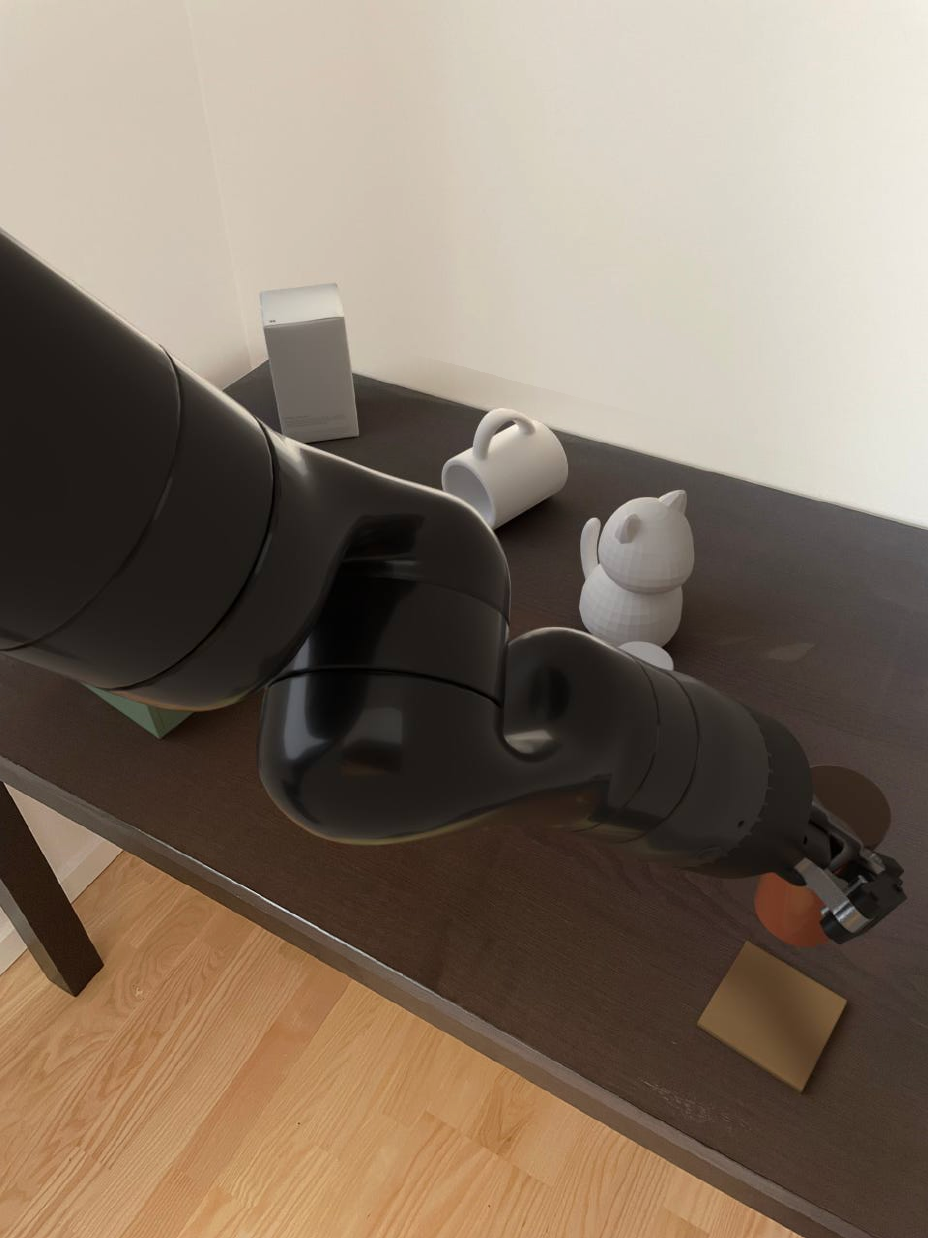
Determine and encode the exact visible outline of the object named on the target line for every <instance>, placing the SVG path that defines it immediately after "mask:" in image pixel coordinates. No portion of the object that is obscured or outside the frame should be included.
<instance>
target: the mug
mask: <svg viewBox="0 0 928 1238" xmlns="http://www.w3.org/2000/svg"><path fill="white" fill-rule="evenodd" d="M511 421H513V423H514V424H513V425H511V426H509V427H507V428H505V429H504V430H501V431H500V432H498V433H496V432H497V431H498V430H499V429H500V428H501V427H502V426H503V425H504V424H506V423H508V422H511ZM568 464H569V463H568V459H567V455H566V453H565V450H564V448H563V445H562V443H561V442H560V440H559V438H558V437H557V435H555V434H554V432H553V431H552V430H551V429H550V428H549V427H548V426H546V425H545V424H543V423H542V422H540V421H537V420H535V419H530V418H529V417H527V416H526V415H525V414H523V413H522V412H520V411H517V410H515V409H512V408H505V407H500V408H494V409H493V410H490V411H489V412H487V413H486V414H485V415H484V416H483V418H481V421H480V422H479V424H478V426H477V429H476V431H475V434H474V437H473V442H472V447H469V448H467V449H466V450H464V451H463V452H461V453H459V454H456V455H455V456H453V457H451V458H450V459H448V460H447V461H446V462H445V464H444V465H443V467H442V470H441V486H442V491H445V492H447V493H449V494H452V495H454V496H457V497H459V498H461V499H462V500H464V501H465V502H467V503H468V504H470V505H471V506H473V507H474V508H475V509H476V510H477V511H478V512H479V513H480V514H481V515H482V516H483V517H484V519H485V520H486V521H487V523H488V524H489V525H490V527H491V528H492V530H493V531H495V530H496V529H498V528H499V527H501V526H503V525H505V524H507V523H508V522H510V521H511V520H513V519H515V518H516V517H518V516H520V515H521V514H523V513H524V512H526V511H527V510H530V509H531V508H533V507H535V506H536V505H537V504H540V503H541V502H543V501H545V500H546V499H548V498H550V497H551V496H553V495H555V494H556V493H558V492H559V491H561V490H562V489H563V488H564V486H565V485H566V482H567V480H568V477H569V465H568Z"/></svg>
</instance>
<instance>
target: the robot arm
mask: <svg viewBox="0 0 928 1238" xmlns="http://www.w3.org/2000/svg"><path fill="white" fill-rule="evenodd" d="M511 582H512V581H511V571H510V567H509V563H508V559H507V557H506V554H505V551H504V549H503V547H502V544H501V543H500V540H499V539H498V537H497V534H496V533H495V530H492V528H491V527H490V525H489V524H488V523H487V521H486V520H485V519H484V517H483V516H482V515H481V514H480V513H479V512H478V511H477V510H476V509H475V508H474V507H473V506H471V505H470V504H468V503H467V502H465V501H464V500H462V499H461V498H459V497H457V496H454V495H452V494H449V493H447V492H445V491H443V489H438V488H435V487H432V486H428V485H425V484H423V483H419V482H415V481H411V480H407V479H404V478H401V477H397V476H394V475H391V474H388V473H385V472H382V471H378V470H376V469H373V468H371V467H368V466H365V465H362V464H360V463H357V462H355V461H352V460H349V459H347V458H345V457H342V456H339V455H337V454H334V453H332V452H328V451H325V450H323V449H320V448H317V447H314V446H311V445H309V444H307V443H301V442H299V441H296V440H294V439H291V438H289V437H286V436H284V435H283V434H282V433H280V432H277V431H275V430H273V429H272V428H271V427H270V426H269V425H267V424H266V423H265V422H263V421H262V420H261V419H260V418H259V417H257V416H256V415H255V414H253V412H251V411H249V409H247V408H245V406H243V405H241V404H240V403H239V402H238V401H236V400H235V399H233V398H232V397H231V396H230V395H229V394H227V393H226V392H225V391H223V390H221V389H220V388H219V387H217V385H215V384H213V383H212V382H211V381H210V380H208V379H207V378H206V377H204V376H203V375H202V374H200V373H199V372H198V371H196V370H195V369H194V368H192V367H191V366H190V365H188V364H187V363H186V362H185V361H183V360H181V358H179V357H178V356H176V355H175V354H173V353H172V352H171V351H170V350H168V349H166V348H165V346H163V345H162V344H160V343H159V342H157V341H156V340H154V339H153V338H152V337H151V336H149V335H148V334H147V333H145V332H144V331H142V330H141V329H140V328H138V326H136V325H134V324H133V322H130V321H129V320H128V319H127V318H125V317H123V316H122V315H121V314H119V313H118V312H117V311H116V310H115V309H113V308H112V307H110V306H109V305H107V304H106V303H105V302H103V301H102V300H101V299H99V298H98V297H96V296H95V295H94V294H92V293H91V292H89V291H88V290H87V289H85V288H84V287H83V286H81V285H80V284H79V283H77V282H76V281H75V280H74V279H72V278H71V277H69V276H67V275H66V273H63V272H62V271H61V270H59V269H58V268H57V267H56V266H54V265H53V264H51V263H50V262H49V261H47V260H46V259H44V257H42V256H40V255H39V254H38V253H37V252H36V251H35V252H34V251H33V249H31V248H30V247H28V246H27V245H25V244H24V243H23V242H21V241H20V240H18V239H17V238H16V237H15V236H13V235H12V234H10V233H9V232H7V231H6V230H5V229H3V228H2V227H0V655H2V656H3V657H7V658H9V659H13V660H16V661H18V662H21V663H24V664H26V665H30V666H32V667H36V668H39V669H41V670H44V671H47V672H50V673H53V674H56V675H58V676H61V677H64V678H67V679H69V680H73V681H76V682H78V683H80V682H81V683H84V684H87V685H89V686H92V687H95V688H97V689H100V690H103V691H106V692H108V693H111V694H114V695H117V696H120V697H122V698H126V699H129V700H132V701H135V702H138V703H142V704H145V705H149V706H152V707H156V708H162V709H167V710H172V711H180V712H193V713H197V712H208V711H215V710H220V709H224V708H227V707H230V706H234V705H235V704H237V703H240V702H242V701H244V700H246V699H248V698H250V697H251V696H254V695H255V694H257V693H258V692H261V690H263V689H264V693H263V695H262V696H263V697H262V703H261V709H260V714H259V715H260V716H259V722H258V728H257V730H258V731H257V736H256V737H257V738H256V744H255V745H256V747H255V748H256V767H257V771H258V776H259V780H260V782H261V784H262V786H263V788H264V790H265V792H266V794H267V795H268V797H269V798H270V800H271V801H272V802H273V803H274V805H275V806H276V808H277V809H278V810H279V811H280V812H282V814H284V815H285V816H286V817H287V818H288V819H289V820H290V821H291V822H292V823H294V824H295V825H297V826H298V827H300V828H302V829H303V830H305V831H306V832H308V833H309V834H310V835H314V836H316V837H318V838H320V839H322V840H327V841H331V842H333V843H338V844H343V845H349V846H367V847H372V846H374V847H375V846H391V845H392V846H393V845H400V844H401V845H402V844H408V843H416V842H421V841H426V840H430V839H436V838H442V837H445V836H451V835H455V834H459V833H463V832H468V831H473V830H478V829H482V828H488V827H498V826H512V825H513V826H514V825H515V826H528V827H538V828H543V829H546V830H552V831H556V832H559V833H563V834H567V835H570V836H574V837H579V838H582V839H586V840H591V841H595V842H598V843H600V844H602V845H603V846H606V848H607V847H608V848H609V849H611V850H614V851H615V852H617V853H619V854H623V855H625V856H629V857H632V858H634V859H638V860H643V861H646V862H650V863H655V864H658V865H663V866H667V867H671V868H675V869H679V870H684V871H688V872H692V873H695V874H699V875H703V876H708V877H711V878H717V879H722V880H739V879H747V878H751V877H757V876H761V875H762V874H767V873H772V872H773V873H775V874H776V875H778V876H780V877H781V878H782V879H784V880H785V881H786V882H788V883H790V884H792V885H795V886H803V887H804V888H806V889H808V890H813V891H814V892H815V894H816V895H817V896H818V897H819V898H820V899H821V900H822V902H823V903H824V904H825V905H824V906H823V907H822V908H820V909H819V910H820V913H821V915H822V916H823V917H824V918H823V919H821V920H820V925H821V927H822V929H823V931H824V933H825V934H826V936H827V937H828V938H829V939H831V940H830V941H833V942H834V943H835V944H838V945H840V946H841V945H843V944H846V943H847V942H849V941H851V940H853V939H855V938H857V937H860V936H863V935H864V934H866V933H868V932H869V931H871V929H873V928H874V927H875V926H876V925H877V924H879V923H880V922H881V921H883V920H884V919H885V918H886V917H887V916H888V915H889V914H891V913H892V912H893V911H895V910H896V909H897V908H898V907H899V906H901V905H902V904H903V903H904V902H905V901H907V900H908V897H907V895H906V893H905V892H904V888H903V887H902V885H903V884H904V881H903V879H901V878H900V877H901V876H902V875H903V874H904V873H905V869H904V868H903V867H902V866H901V865H900V863H899V862H898V861H897V860H896V859H895V858H893V857H892V856H891V857H890V856H888V855H885V854H882V853H880V852H877V851H876V852H874V851H871V850H868V849H867V848H865V847H864V846H863V843H862V842H861V840H860V839H859V837H858V836H857V835H856V833H855V832H854V830H853V829H852V828H851V826H850V825H849V824H848V823H846V822H845V821H844V820H842V819H841V818H839V817H838V816H836V815H835V814H833V813H832V812H830V811H829V810H827V809H826V808H825V807H824V806H823V805H822V803H821V802H820V800H819V799H818V797H817V796H816V795H815V794H813V781H812V774H811V770H810V767H811V766H810V764H809V763H810V762H809V760H808V758H807V754H806V753H805V751H804V749H803V747H802V745H801V744H800V742H799V741H798V739H797V738H796V736H795V735H794V734H793V733H792V732H791V731H790V730H789V729H788V728H787V727H786V726H785V725H784V724H782V723H781V722H780V721H778V720H777V719H775V718H774V717H772V716H770V715H768V714H766V713H765V712H762V710H761V711H760V710H759V709H756V708H755V707H752V706H751V705H749V704H747V703H745V702H743V701H741V700H739V699H737V698H735V697H733V696H731V695H730V694H727V693H725V692H723V691H722V690H719V689H718V688H716V687H713V686H711V685H709V684H707V683H706V682H703V681H701V680H700V679H697V678H695V677H693V676H690V675H688V674H685V673H682V672H679V671H676V670H673V671H672V670H667V669H663V668H659V667H657V666H654V665H652V664H650V663H648V662H646V661H644V660H642V659H640V658H638V657H636V656H634V655H632V654H630V653H628V652H626V651H624V650H622V649H620V648H618V647H617V646H615V645H613V644H611V643H609V642H607V641H604V640H602V639H600V638H598V637H596V636H594V635H593V634H592V633H589V632H585V631H582V630H579V629H575V628H571V627H564V626H562V627H561V626H545V627H539V628H535V629H530V630H528V631H525V632H524V633H522V634H519V635H517V636H516V637H514V638H512V639H511V640H510V641H509V639H510V622H511V620H510V619H511V605H512V602H511V601H512V583H511ZM81 683H80V684H81ZM828 832H829V833H830V835H829V834H828ZM848 861H851V862H850V863H849V864H848V865H847V866H846V867H845V868H843V869H842V870H841V871H840V872H839V873H838V874H834V873H835V872H836V871H837V870H839V869H840V868H841V867H842V866H843V865H844V864H845V863H847V862H848Z"/></svg>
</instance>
